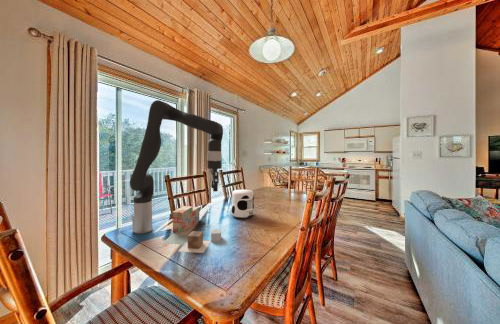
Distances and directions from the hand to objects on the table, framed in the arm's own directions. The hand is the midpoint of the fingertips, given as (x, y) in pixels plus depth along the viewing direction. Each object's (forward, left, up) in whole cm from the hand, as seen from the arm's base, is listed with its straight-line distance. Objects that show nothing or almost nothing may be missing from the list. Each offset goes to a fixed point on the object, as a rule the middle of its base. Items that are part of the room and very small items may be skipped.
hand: (214, 189), depth 106 cm
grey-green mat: (-18, -6, -26) cm, 32 cm away
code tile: (-6, -12, -26) cm, 29 cm away
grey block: (+2, -4, -26) cm, 27 cm away
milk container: (+11, +36, -26) cm, 46 cm away
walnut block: (-6, -12, -25) cm, 29 cm away
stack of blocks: (-21, +13, -26) cm, 36 cm away
